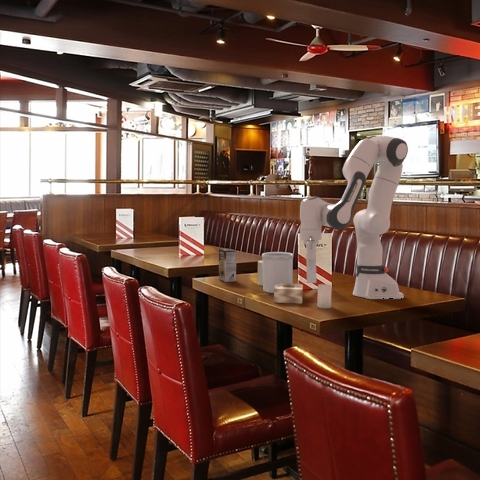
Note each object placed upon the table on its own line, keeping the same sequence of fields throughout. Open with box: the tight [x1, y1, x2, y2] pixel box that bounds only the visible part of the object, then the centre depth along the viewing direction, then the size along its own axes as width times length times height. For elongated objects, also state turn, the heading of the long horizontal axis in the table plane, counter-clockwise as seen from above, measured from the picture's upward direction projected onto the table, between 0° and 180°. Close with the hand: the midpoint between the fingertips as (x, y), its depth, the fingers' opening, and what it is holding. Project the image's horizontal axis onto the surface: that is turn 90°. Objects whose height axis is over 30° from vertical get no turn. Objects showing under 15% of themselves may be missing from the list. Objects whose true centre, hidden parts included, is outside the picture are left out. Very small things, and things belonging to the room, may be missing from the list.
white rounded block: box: [316, 283, 332, 309], centre depth 226 cm, size 6×6×9 cm
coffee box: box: [218, 248, 237, 283], centre depth 285 cm, size 9×6×16 cm
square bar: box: [305, 253, 317, 284], centre depth 233 cm, size 4×4×12 cm
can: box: [256, 259, 263, 287], centre depth 275 cm, size 9×9×12 cm
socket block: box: [273, 283, 304, 304], centre depth 239 cm, size 12×12×6 cm
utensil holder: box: [261, 251, 294, 294], centre depth 259 cm, size 15×15×18 cm
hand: (311, 267), depth 233 cm, fingers closed on square bar, 4 cm apart
